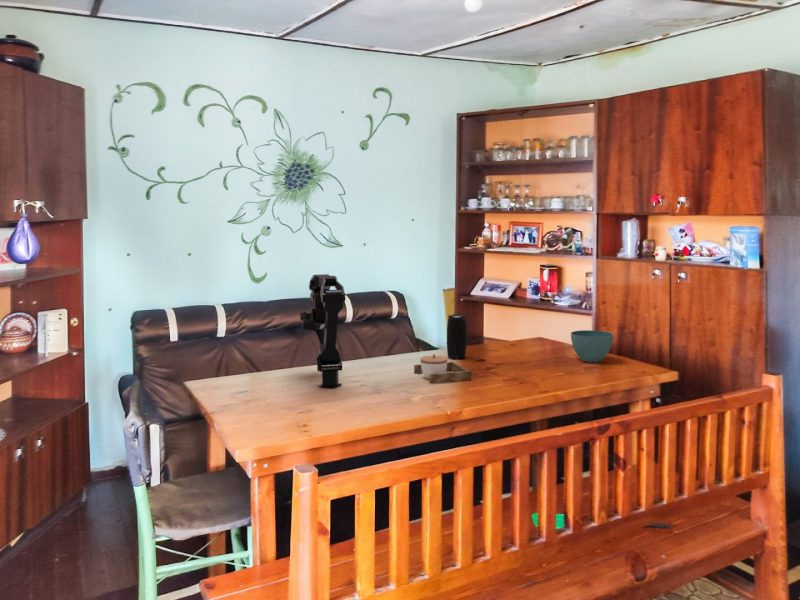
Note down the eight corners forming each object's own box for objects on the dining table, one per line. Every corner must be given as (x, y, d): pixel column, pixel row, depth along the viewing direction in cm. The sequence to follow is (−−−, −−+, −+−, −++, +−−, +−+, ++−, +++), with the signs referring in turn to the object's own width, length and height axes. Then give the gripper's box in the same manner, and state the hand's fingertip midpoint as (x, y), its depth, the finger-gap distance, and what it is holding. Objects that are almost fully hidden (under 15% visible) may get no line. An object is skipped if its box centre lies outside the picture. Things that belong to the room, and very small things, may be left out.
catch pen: (430, 383, 277) (430, 374, 276) (414, 373, 294) (414, 365, 293) (471, 380, 282) (471, 371, 282) (452, 370, 299) (452, 362, 299)
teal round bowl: (561, 358, 322) (562, 331, 321) (593, 355, 330) (594, 328, 328) (588, 366, 306) (589, 338, 305) (621, 362, 314) (622, 335, 312)
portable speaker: (453, 355, 330) (454, 313, 327) (470, 357, 324) (471, 315, 322) (442, 358, 323) (442, 315, 321) (459, 360, 317) (460, 317, 315)
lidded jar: (448, 374, 291) (448, 352, 290) (446, 381, 281) (446, 357, 280) (421, 374, 293) (421, 351, 292) (418, 380, 282) (419, 356, 281)
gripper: (318, 301, 297) (319, 338, 299) (290, 307, 281) (291, 346, 283) (340, 303, 292) (341, 341, 294) (314, 309, 276) (314, 349, 278)
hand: (322, 344), depth 287 cm, fingers closed
